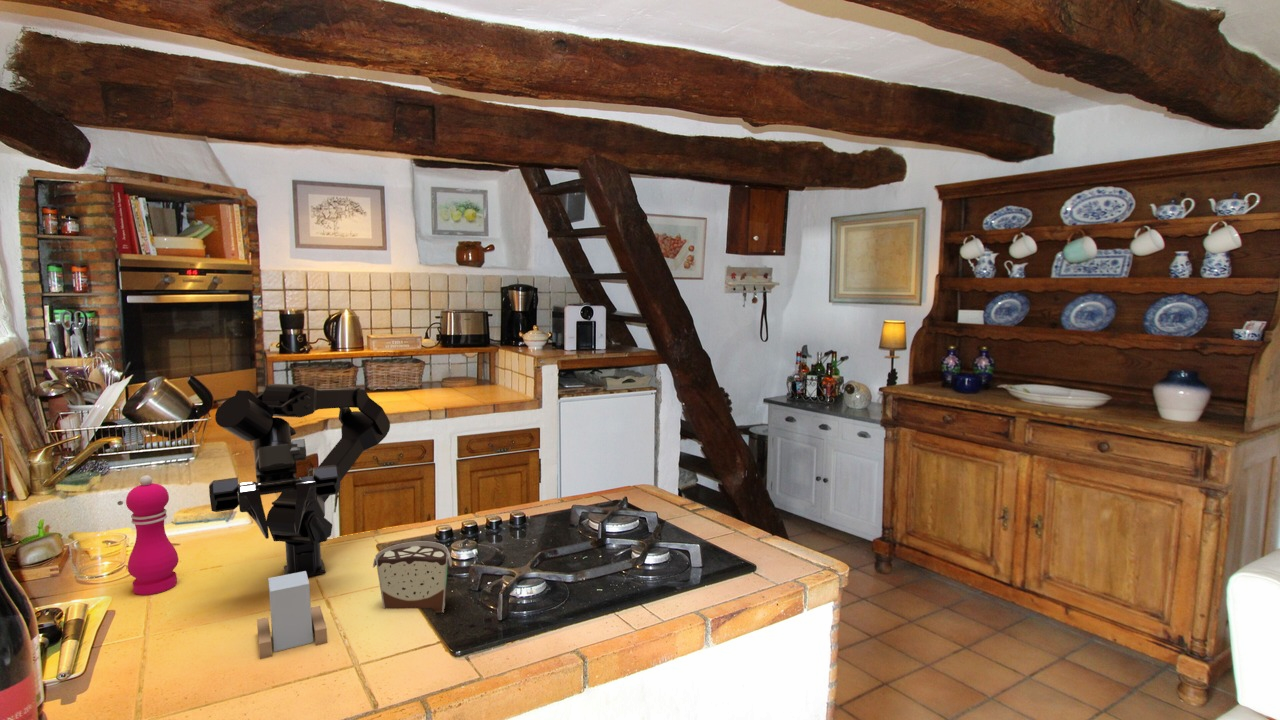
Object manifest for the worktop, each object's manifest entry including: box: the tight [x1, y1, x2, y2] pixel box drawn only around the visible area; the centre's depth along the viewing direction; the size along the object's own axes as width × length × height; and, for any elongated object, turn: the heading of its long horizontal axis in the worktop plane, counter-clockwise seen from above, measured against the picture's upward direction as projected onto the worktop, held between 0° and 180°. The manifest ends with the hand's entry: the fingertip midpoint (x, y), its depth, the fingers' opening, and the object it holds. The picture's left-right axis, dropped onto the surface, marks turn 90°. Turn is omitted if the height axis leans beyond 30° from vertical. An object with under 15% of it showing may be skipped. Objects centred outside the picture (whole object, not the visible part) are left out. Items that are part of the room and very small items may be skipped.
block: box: [267, 571, 314, 653], centre depth 102 cm, size 5×5×9 cm
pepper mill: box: [125, 474, 179, 596], centre depth 121 cm, size 7×7×20 cm
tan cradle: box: [256, 605, 328, 660], centre depth 100 cm, size 15×9×3 cm, turn 30°
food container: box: [372, 540, 453, 614], centre depth 115 cm, size 12×6×10 cm, turn 92°
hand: (282, 534), depth 110 cm, fingers open, 4 cm apart
